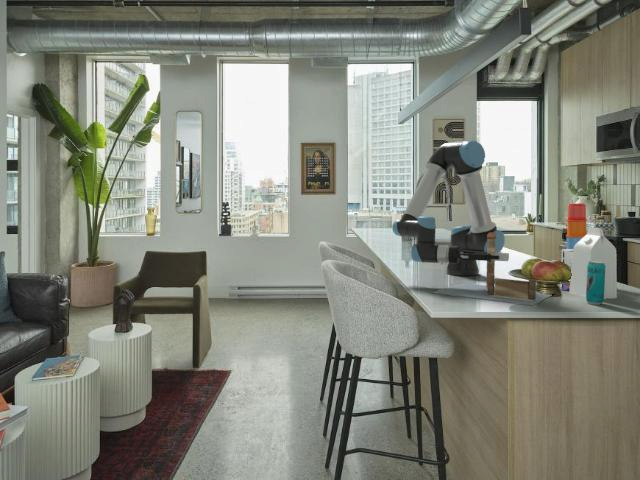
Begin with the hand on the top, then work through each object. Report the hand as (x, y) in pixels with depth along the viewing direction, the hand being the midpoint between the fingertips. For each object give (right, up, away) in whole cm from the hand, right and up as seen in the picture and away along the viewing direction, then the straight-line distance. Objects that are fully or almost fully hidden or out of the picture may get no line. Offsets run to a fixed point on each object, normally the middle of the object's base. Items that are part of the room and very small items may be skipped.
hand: (508, 257), depth 220 cm
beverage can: (+22, -16, -24) cm, 37 cm away
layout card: (-8, -14, -6) cm, 17 cm away
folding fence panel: (-8, -13, -2) cm, 15 cm away
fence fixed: (-5, -14, -16) cm, 22 cm away
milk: (+29, -15, -9) cm, 34 cm away
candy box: (+30, -14, +3) cm, 33 cm away
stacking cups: (+36, -12, +19) cm, 43 cm away
